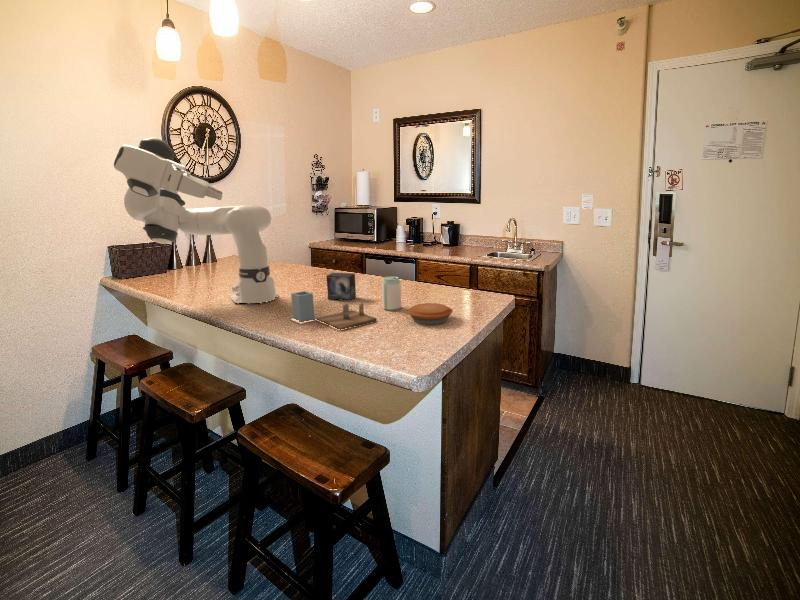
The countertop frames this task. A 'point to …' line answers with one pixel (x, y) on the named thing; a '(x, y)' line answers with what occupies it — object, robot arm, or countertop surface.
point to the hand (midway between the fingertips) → (221, 196)
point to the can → (391, 293)
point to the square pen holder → (303, 306)
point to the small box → (341, 286)
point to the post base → (346, 322)
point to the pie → (430, 313)
